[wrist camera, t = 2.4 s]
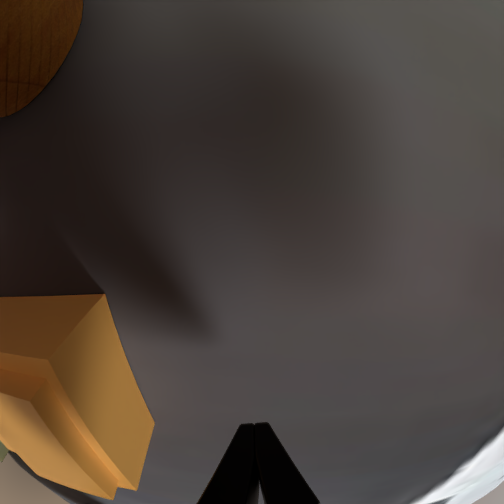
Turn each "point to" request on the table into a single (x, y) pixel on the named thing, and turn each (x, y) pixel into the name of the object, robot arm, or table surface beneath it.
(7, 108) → the disposable coffee cup
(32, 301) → the orange block with panel
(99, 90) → the table surface
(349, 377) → the table surface
